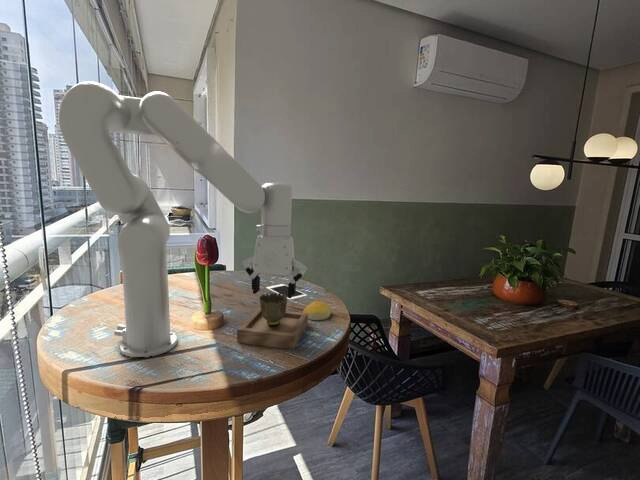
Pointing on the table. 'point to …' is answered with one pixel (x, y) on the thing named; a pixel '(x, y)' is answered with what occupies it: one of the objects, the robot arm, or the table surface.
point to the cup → (273, 308)
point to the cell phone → (285, 291)
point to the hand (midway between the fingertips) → (273, 294)
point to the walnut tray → (273, 330)
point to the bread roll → (317, 311)
